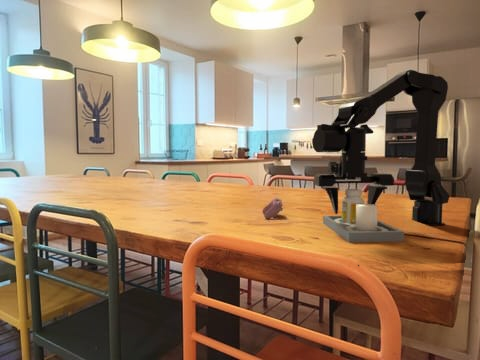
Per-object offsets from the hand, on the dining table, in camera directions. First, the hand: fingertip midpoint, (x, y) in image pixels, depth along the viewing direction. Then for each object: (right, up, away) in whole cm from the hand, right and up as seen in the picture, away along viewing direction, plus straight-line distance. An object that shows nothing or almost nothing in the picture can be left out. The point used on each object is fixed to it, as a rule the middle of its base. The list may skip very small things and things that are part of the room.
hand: (352, 213), depth 88 cm
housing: (0, -5, -4) cm, 6 cm away
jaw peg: (0, -4, -9) cm, 10 cm away
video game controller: (-18, -3, +22) cm, 29 cm away
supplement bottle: (0, -4, 0) cm, 4 cm away
